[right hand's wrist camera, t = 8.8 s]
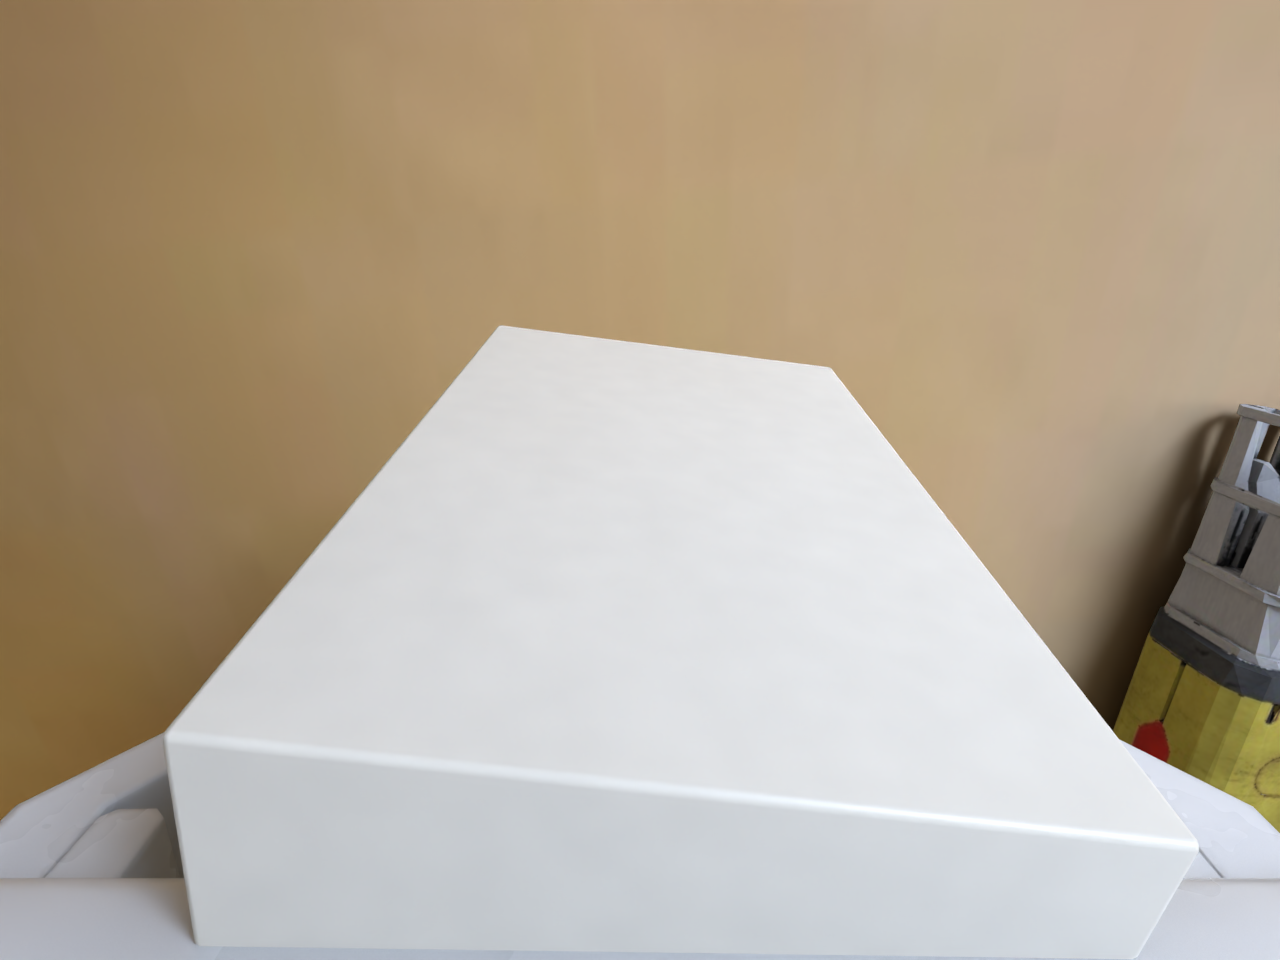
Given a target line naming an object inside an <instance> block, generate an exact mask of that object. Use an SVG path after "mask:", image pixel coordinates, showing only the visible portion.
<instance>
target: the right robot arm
mask: <svg viewBox="0 0 1280 960" xmlns="http://www.w3.org/2000/svg"><path fill="white" fill-rule="evenodd" d="M164 733H165V732H163V733H161V734H159V735H157V736H155V737H153V738H151V739H149V740H147V741H145V742H143V743H141V744H139V745H137V746H135V747H133V748H131V749H129V750H127V751H125V752H123V753H121V754H119V755H117V756H115V757H113V758H111V759H109V760H107V761H105V762H103V763H101V764H99V765H97V766H95V767H93V768H91V769H89V770H87V771H85V772H83V773H81V774H79V775H77V776H75V777H73V778H71V779H69V780H67V781H65V782H63V783H60V784H58V785H56V786H54V787H52V788H50V789H48V790H46V791H44V792H42V793H40V794H38V795H36V796H34V797H32V798H30V799H28V800H26V801H24V802H22V803H20V804H18V805H16V806H15V807H14V808H13V809H12V810H11V811H10V812H9V813H8V814H7V815H6V816H5V817H4V818H3V819H2V820H1V821H0V960H1280V833H1279V832H1278V831H1277V830H1276V829H1275V828H1274V827H1273V826H1272V825H1271V824H1270V823H1269V822H1268V821H1267V820H1266V819H1265V818H1264V817H1263V816H1262V815H1261V814H1260V813H1259V812H1258V811H1257V810H1256V809H1255V808H1254V807H1253V806H1251V805H1249V804H1247V803H1245V802H1243V801H1241V800H1239V799H1237V798H1235V797H1233V796H1231V795H1229V794H1227V793H1225V792H1223V791H1221V790H1219V789H1217V788H1215V787H1213V786H1211V785H1209V784H1207V783H1205V782H1203V781H1201V780H1199V779H1197V778H1195V777H1193V776H1191V775H1189V774H1187V773H1185V772H1183V771H1181V770H1179V769H1177V768H1175V767H1173V766H1171V765H1169V764H1167V763H1165V762H1163V761H1161V760H1159V759H1157V758H1155V757H1153V756H1151V755H1149V754H1147V753H1145V752H1143V751H1141V750H1139V749H1137V748H1135V747H1133V746H1131V745H1129V744H1128V743H1126V742H1124V741H1122V740H1120V739H1119V740H1120V741H1121V743H1122V744H1123V745H1124V746H1125V748H1126V749H1127V750H1128V752H1129V753H1130V754H1131V755H1132V757H1133V758H1134V759H1135V761H1136V762H1137V763H1138V764H1139V766H1140V767H1141V768H1142V770H1143V771H1144V772H1145V773H1146V775H1147V776H1148V777H1149V779H1150V780H1151V781H1152V782H1153V784H1154V785H1155V786H1156V788H1157V789H1158V790H1159V791H1160V793H1161V794H1162V795H1163V797H1164V798H1165V799H1166V800H1167V802H1168V803H1169V804H1170V806H1171V807H1172V808H1173V810H1174V811H1175V812H1176V813H1177V815H1178V816H1179V817H1180V819H1181V820H1182V821H1183V822H1184V824H1185V825H1186V826H1187V828H1188V829H1189V830H1190V831H1191V833H1192V834H1193V835H1194V837H1195V838H1196V839H1197V841H1198V844H1199V852H1198V854H1197V856H1196V857H1195V859H1194V861H1193V863H1192V864H1191V866H1190V868H1189V869H1188V871H1187V873H1186V875H1185V876H1184V878H1183V880H1182V881H1181V883H1180V885H1179V887H1178V888H1177V890H1176V892H1175V894H1174V895H1173V897H1172V899H1171V900H1170V902H1169V904H1168V906H1167V907H1166V909H1165V911H1164V912H1163V914H1162V916H1161V918H1160V919H1159V921H1158V923H1157V924H1156V926H1155V928H1154V930H1153V931H1152V933H1151V935H1150V936H1149V938H1148V940H1147V942H1146V943H1145V945H1144V947H1143V948H1142V950H1141V952H1140V954H1139V955H1138V957H1136V958H1134V959H1084V958H1012V957H940V956H868V955H796V954H724V953H652V952H580V951H508V950H436V949H364V948H291V947H219V946H199V945H196V944H195V942H194V935H193V929H192V923H191V917H190V911H189V904H188V898H187V892H186V886H185V879H184V873H183V867H182V861H181V854H180V848H179V842H178V836H177V830H176V823H175V817H174V811H173V805H172V798H171V792H170V786H169V780H168V774H167V767H166V761H165V755H164V749H163V742H162V741H163V736H164Z"/></svg>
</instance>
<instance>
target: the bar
mask: <svg viewBox="0 0 1280 960" xmlns="http://www.w3.org/2000/svg"><path fill="white" fill-rule="evenodd" d="M162 742H163V749H164V755H165V761H166V767H167V774H168V780H169V786H170V792H171V798H172V805H173V811H174V817H175V823H176V830H177V836H178V842H179V848H180V854H181V861H182V867H183V873H184V879H185V886H186V892H187V898H188V904H189V911H190V917H191V923H192V929H193V935H194V942H195V944H196V945H199V946H219V947H291V948H364V949H436V950H508V951H580V952H652V953H724V954H796V955H868V956H940V957H1012V958H1084V959H1134V958H1136V957H1138V955H1139V954H1140V952H1141V950H1142V948H1143V947H1144V945H1145V943H1146V942H1147V940H1148V938H1149V936H1150V935H1151V933H1152V931H1153V930H1154V928H1155V926H1156V924H1157V923H1158V921H1159V919H1160V918H1161V916H1162V914H1163V912H1164V911H1165V909H1166V907H1167V906H1168V904H1169V902H1170V900H1171V899H1172V897H1173V895H1174V894H1175V892H1176V890H1177V888H1178V887H1179V885H1180V883H1181V881H1182V880H1183V878H1184V876H1185V875H1186V873H1187V871H1188V869H1189V868H1190V866H1191V864H1192V863H1193V861H1194V859H1195V857H1196V856H1197V854H1198V852H1199V844H1198V841H1197V839H1196V838H1195V837H1194V835H1193V834H1192V833H1191V831H1190V830H1189V829H1188V828H1187V826H1186V825H1185V824H1184V822H1183V821H1182V820H1181V819H1180V817H1179V816H1178V815H1177V813H1176V812H1175V811H1174V810H1173V808H1172V807H1171V806H1170V804H1169V803H1168V802H1167V800H1166V799H1165V798H1164V797H1163V795H1162V794H1161V793H1160V791H1159V790H1158V789H1157V788H1156V786H1155V785H1154V784H1153V782H1152V781H1151V780H1150V779H1149V777H1148V776H1147V775H1146V773H1145V772H1144V771H1143V770H1142V768H1141V767H1140V766H1139V764H1138V763H1137V762H1136V761H1135V759H1134V758H1133V757H1132V755H1131V754H1130V753H1129V752H1128V750H1127V749H1126V748H1125V746H1124V745H1123V744H1122V743H1121V741H1120V740H1119V739H1118V737H1117V736H1116V735H1115V734H1114V732H1113V731H1112V730H1111V728H1110V727H1109V726H1108V725H1107V723H1106V722H1105V721H1104V719H1103V718H1102V717H1101V715H1100V714H1099V713H1098V712H1097V710H1096V709H1095V708H1094V706H1093V705H1092V704H1091V703H1090V701H1089V700H1088V699H1087V697H1086V696H1085V695H1084V694H1083V692H1082V691H1081V690H1080V688H1079V687H1078V686H1077V685H1076V683H1075V682H1074V681H1073V679H1072V678H1071V677H1070V676H1069V674H1068V673H1067V672H1066V670H1065V669H1064V668H1063V667H1062V665H1061V664H1060V663H1059V661H1058V660H1057V659H1056V658H1055V656H1054V655H1053V654H1052V652H1051V651H1050V650H1049V649H1048V647H1047V646H1046V645H1045V643H1044V642H1043V641H1042V639H1041V638H1040V637H1039V636H1038V634H1037V633H1036V632H1035V630H1034V629H1033V628H1032V627H1031V625H1030V624H1029V623H1028V621H1027V620H1026V619H1025V618H1024V616H1023V615H1022V614H1021V612H1020V611H1019V610H1018V609H1017V607H1016V606H1015V605H1014V603H1013V602H1012V601H1011V600H1010V598H1009V597H1008V596H1007V594H1006V593H1005V592H1004V591H1003V589H1002V588H1001V587H1000V585H999V584H998V583H997V582H996V580H995V579H994V578H993V576H992V575H991V574H990V573H989V571H988V570H987V569H986V567H985V566H984V565H983V564H982V562H981V561H980V560H979V558H978V557H977V556H976V554H975V553H974V552H973V551H972V549H971V548H970V547H969V545H968V544H967V543H966V542H965V540H964V539H963V538H962V536H961V535H960V534H959V533H958V531H957V530H956V529H955V527H954V526H953V525H952V524H951V522H950V521H949V520H948V518H947V517H946V516H945V515H944V513H943V512H942V511H941V509H940V508H939V507H938V506H937V504H936V503H935V502H934V500H933V499H932V498H931V497H930V495H929V494H928V493H927V491H926V490H925V489H924V488H923V486H922V485H921V484H920V482H919V481H918V480H917V479H916V477H915V476H914V475H913V473H912V472H911V471H910V469H909V468H908V467H907V466H906V464H905V463H904V462H903V460H902V459H901V458H900V457H899V455H898V454H897V453H896V451H895V450H894V449H893V448H892V446H891V445H890V444H889V442H888V441H887V440H886V439H885V437H884V436H883V435H882V433H881V432H880V431H879V430H878V428H877V427H876V426H875V424H874V423H873V422H872V421H871V419H870V418H869V417H868V415H867V414H866V413H865V412H864V410H863V409H862V408H861V406H860V405H859V404H858V403H857V401H856V400H855V399H854V397H853V396H852V395H851V394H850V392H849V391H848V390H847V388H846V387H845V386H844V384H843V383H842V382H841V381H840V379H839V378H838V377H837V375H836V374H835V373H834V372H833V370H832V369H831V368H829V367H823V366H815V365H807V364H799V363H791V362H783V361H776V360H768V359H760V358H752V357H744V356H736V355H728V354H721V353H713V352H705V351H697V350H689V349H681V348H674V347H666V346H658V345H650V344H642V343H634V342H627V341H619V340H611V339H603V338H595V337H587V336H580V335H572V334H564V333H556V332H548V331H540V330H533V329H525V328H517V327H509V326H498V327H497V328H496V330H495V331H494V332H493V333H492V334H491V336H490V337H489V338H488V339H487V341H486V342H485V343H484V344H483V345H482V347H481V348H480V349H479V350H478V351H477V353H476V354H475V355H474V356H473V358H472V359H471V360H470V361H469V362H468V364H467V365H466V366H465V367H464V368H463V370H462V371H461V372H460V373H459V375H458V376H457V377H456V378H455V379H454V381H453V382H452V383H451V384H450V385H449V387H448V388H447V389H446V390H445V392H444V393H443V394H442V395H441V396H440V398H439V399H438V400H437V401H436V403H435V404H434V405H433V406H432V407H431V409H430V410H429V411H428V412H427V413H426V415H425V416H424V417H423V418H422V420H421V421H420V422H419V423H418V424H417V426H416V427H415V428H414V429H413V430H412V432H411V433H410V434H409V435H408V437H407V438H406V439H405V440H404V441H403V443H402V444H401V445H400V446H399V447H398V449H397V450H396V451H395V452H394V454H393V455H392V456H391V457H390V458H389V460H388V461H387V462H386V463H385V464H384V466H383V467H382V468H381V469H380V471H379V472H378V473H377V474H376V475H375V477H374V478H373V479H372V480H371V481H370V483H369V484H368V485H367V486H366V488H365V489H364V490H363V491H362V492H361V494H360V495H359V496H358V497H357V498H356V500H355V501H354V502H353V503H352V505H351V506H350V507H349V508H348V509H347V511H346V512H345V513H344V514H343V516H342V517H341V518H340V519H339V520H338V522H337V523H336V524H335V525H334V526H333V528H332V529H331V530H330V531H329V533H328V534H327V535H326V536H325V537H324V539H323V540H322V541H321V542H320V543H319V545H318V546H317V547H316V548H315V550H314V551H313V552H312V553H311V554H310V556H309V557H308V558H307V559H306V560H305V562H304V563H303V564H302V565H301V567H300V568H299V569H298V570H297V571H296V573H295V574H294V575H293V576H292V577H291V579H290V580H289V581H288V582H287V584H286V585H285V586H284V587H283V588H282V590H281V591H280V592H279V593H278V594H277V596H276V597H275V598H274V599H273V601H272V602H271V603H270V604H269V605H268V607H267V608H266V609H265V610H264V611H263V613H262V614H261V615H260V616H259V618H258V619H257V620H256V621H255V622H254V624H253V625H252V626H251V627H250V629H249V630H248V631H247V632H246V633H245V635H244V636H243V637H242V638H241V639H240V641H239V642H238V643H237V644H236V646H235V647H234V648H233V649H232V650H231V652H230V653H229V654H228V655H227V656H226V658H225V659H224V660H223V661H222V663H221V664H220V665H219V666H218V667H217V669H216V670H215V671H214V672H213V673H212V675H211V676H210V677H209V678H208V680H207V681H206V682H205V683H204V684H203V686H202V687H201V688H200V689H199V690H198V692H197V693H196V694H195V695H194V697H193V698H192V699H191V700H190V701H189V703H188V704H187V705H186V706H185V707H184V709H183V710H182V711H181V712H180V714H179V715H178V716H177V717H176V718H175V720H174V721H173V722H172V723H171V724H170V726H169V727H168V728H167V729H166V731H165V733H164V736H163V741H162Z"/></svg>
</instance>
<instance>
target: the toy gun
mask: <svg viewBox="0 0 1280 960" xmlns="http://www.w3.org/2000/svg"><path fill="white" fill-rule="evenodd" d="M1237 414H1238V415H1240V416H1241V417H1240V420H1239V422H1238V425H1237V428H1236V431H1235V433H1234V436H1233V439H1232V442H1231V444H1230V447H1229V450H1228V453H1227V455H1226V458H1225V461H1224V464H1223V466H1222V469H1221V472H1220V475H1219V477H1215V478H1214V480H1213V482H1212V484H1211V486H1210V487H1211V489H1212V490H1213V493H1212V496H1211V498H1210V501H1209V503H1208V506H1207V508H1206V511H1205V514H1204V516H1203V519H1202V521H1201V524H1200V527H1199V529H1198V532H1197V534H1196V537H1195V539H1194V542H1193V545H1192V547H1191V548H1189V550H1188V552H1187V553H1186V554H1185V556H1184V557H1183V558H1184V560H1185V562H1186V564H1185V567H1184V569H1183V572H1182V574H1181V576H1180V578H1179V580H1178V582H1177V584H1176V586H1175V588H1174V590H1173V592H1172V594H1171V596H1170V598H1169V600H1168V602H1167V604H1166V605H1165V606H1162V607H1160V609H1159V611H1158V613H1157V615H1156V617H1155V620H1154V622H1153V624H1152V626H1151V628H1150V631H1149V633H1148V636H1147V639H1146V641H1145V644H1144V647H1143V650H1142V652H1141V655H1140V658H1139V661H1138V663H1137V666H1136V669H1135V672H1134V674H1133V677H1132V680H1131V682H1130V685H1129V688H1128V691H1127V693H1126V696H1125V699H1124V702H1123V704H1122V707H1121V710H1120V713H1119V715H1118V718H1117V721H1116V724H1115V726H1114V729H1113V732H1114V734H1115V735H1116V736H1117V737H1118V739H1120V740H1122V741H1124V742H1126V743H1128V744H1129V745H1131V746H1133V747H1135V748H1137V749H1139V750H1141V751H1143V752H1145V753H1147V754H1149V755H1151V756H1153V757H1155V758H1157V759H1159V760H1161V761H1163V762H1165V763H1167V764H1169V765H1171V766H1173V767H1175V768H1177V769H1179V770H1181V771H1183V772H1185V773H1187V774H1189V775H1191V776H1193V777H1195V778H1197V779H1199V780H1201V781H1203V782H1205V783H1207V784H1209V785H1211V786H1213V787H1215V788H1217V789H1219V790H1221V791H1223V792H1225V793H1227V794H1229V795H1231V796H1233V797H1235V798H1237V799H1239V800H1241V801H1243V802H1245V803H1247V804H1249V805H1251V806H1253V807H1254V808H1255V809H1256V810H1257V811H1258V812H1259V813H1260V814H1261V815H1262V816H1263V817H1264V818H1265V819H1266V820H1267V821H1268V822H1269V823H1270V824H1271V825H1272V826H1273V827H1274V828H1275V829H1276V830H1277V831H1278V832H1279V833H1280V436H1279V439H1278V441H1277V444H1276V447H1275V449H1274V452H1273V455H1272V457H1271V460H1270V462H1266V461H1263V460H1260V459H1257V456H1258V453H1259V450H1260V448H1261V445H1262V443H1263V440H1264V437H1265V435H1266V432H1267V430H1268V427H1269V424H1271V425H1274V426H1278V427H1280V410H1277V409H1273V408H1269V407H1264V406H1256V405H1248V404H1240V405H1239V408H1238V411H1237Z"/></svg>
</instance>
